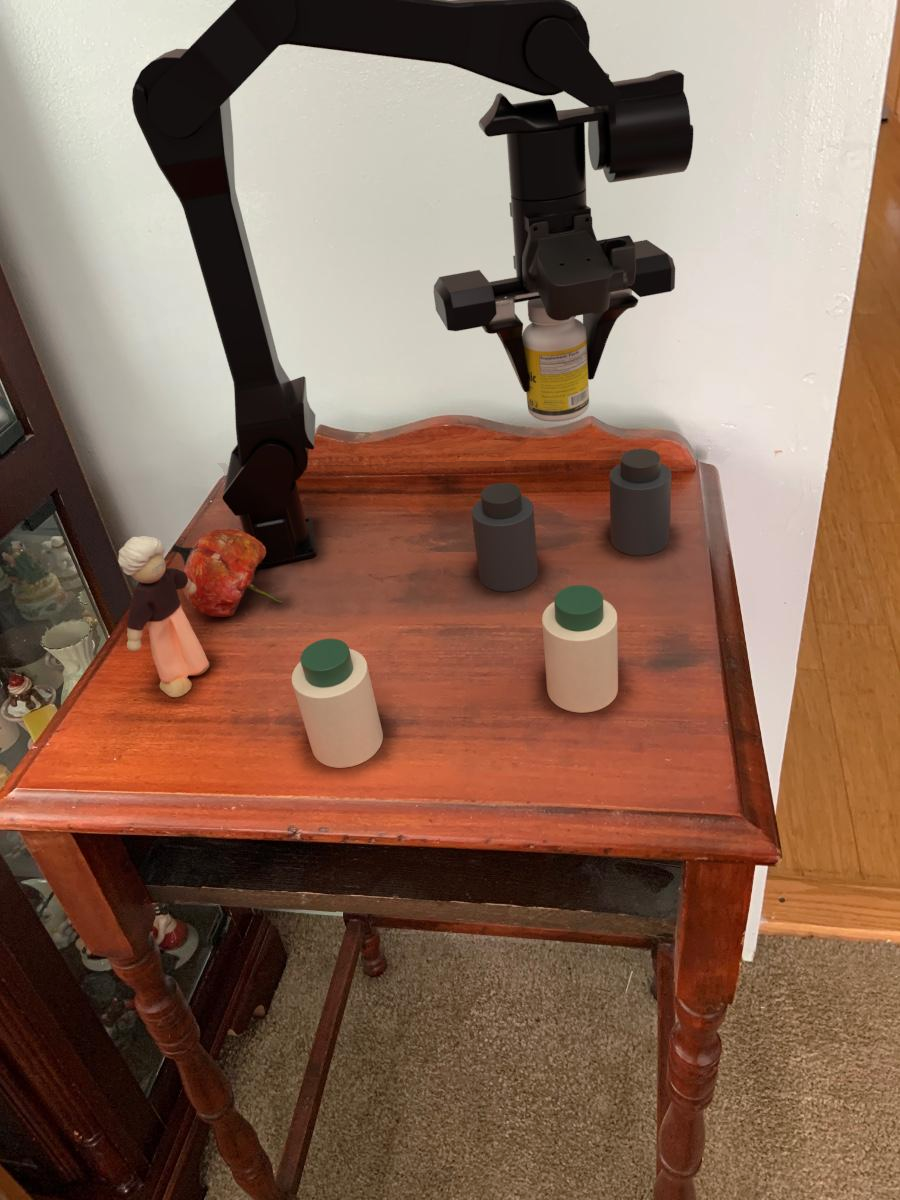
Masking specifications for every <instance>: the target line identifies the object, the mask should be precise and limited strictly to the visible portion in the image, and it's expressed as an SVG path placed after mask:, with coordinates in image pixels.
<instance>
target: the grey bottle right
mask: <svg viewBox="0 0 900 1200" xmlns="http://www.w3.org/2000/svg"><path fill="white" fill-rule="evenodd" d="M661 459H662V458H661V455H660V454H659V453H658V452H657V451H655V450H653V449H649V448H635V449H634V448H633V449H631V450H627V451H626V452H624V453H623V454H621V456H620V460H619V461H620V462H619V464H617V465H616V466H614V467H612V469H611V471H610V472H609V523H610V524H609V525H610V526H609V527H610V528H609V529H610V530H609V531H610V534H609V535H610V544H611V546H612V547H613V548H614V549H615V550H617V551H618V552H620V553H622V554H625V555H629V556H635V557H636V556H637V557H638V556H639V557H641V556H642V557H644V556H650V555H654V554H657V553H660V552H661V551H663V550H664V549H665V548H667V547H668V545H669V543H670V537H671V535H670V531H671V505H672V504H671V503H672V502H671V501H672V500H671V498H672V471H671V469H670V468H669V467H668V466H667V465H666V464H664V463H662V462H661Z"/></svg>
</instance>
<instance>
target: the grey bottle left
mask: <svg viewBox="0 0 900 1200" xmlns="http://www.w3.org/2000/svg"><path fill="white" fill-rule="evenodd" d="M471 520H472V528H473V536H474V545H475V554H476V559H477V560H476V561H477V569H478V578H479V581H480V583H481V584H482V585H483V586H484V587H486V588H487V589H489V590H491V591H495V592H501V593H502V592H503V593H509V592H515V591H521V590H523V589H526V588H527V587H529V586H530V585H532V584H533V583H534V582H536V580H537V579H538V576H539V564H538V563H539V562H538V551H537V549H538V548H537V537H536V535H537V534H536V522H535V509H534V504H533V502H532V501H531V500H530V498H528V497H526V496H524V495H523V494H522V491H521V488H520V487H519V486H518V485H516V484H514V483H509V482H499V483H493V484H490V485H488V486H486V487H485V488H484V489H482V490H481V493H480V500H478V501H477V502H475V504H474V505H473V506H472V508H471Z"/></svg>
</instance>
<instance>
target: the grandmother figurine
mask: <svg viewBox="0 0 900 1200" xmlns="http://www.w3.org/2000/svg"><path fill="white" fill-rule="evenodd" d="M165 547H166V546H164V543H163V542H162V541H161V540H160V539H158V538H156V537H153V536H147V535H141V536H132V537H131V538H130V539H128V540H127V541H126V542H125V543H124V546H122V547H121V548H120V549H119V550H118V558H117V559H118V561H117V562H118V564H119V566H120V567H121V569H122V571H123V573H125V574H126V575H127V576H131V577H132V578H133V580H135V581H137V582H138V583H137V585H136V586H135V587H134V588H133V591H132V596H131V600H130V605H129V611H128V616H127V621H126V628H127V629H126V631H127V632H126V634H127V635H126V637H127V639H128V640H127V642H126V648H127V650H128V651H129V652H132V653H135V652H138V651H140V650H141V649H142V640H141V639H142V638H143V632H144V631H143V630H144V628H145V626H146V627H147V629H148V637H149V644H150V652H151V656H152V660H153V663H154V665H155V668H156V671H157V674H158V678H159V680H160V683H159V689H160V690H161V691H162V692H163V693H164V694H166V695H167V696H169V697H170V698H179V697H183V696H184V695H186V694H187V693H188V692H189V691H190V690H191V689H192V686H193V683H192V681H191V680H190V679H189V678H188V677H190V676H191V677H197V676H200V675H202V674H204V673H206V672H207V670H208V669H209V668H210V661H209V660H208V657H207V656H206V653H205V651H204V649H203V647H202V645H201V642H200V640H199V639H198V637H197V635H196V633H195V631H194V629H193V628H192V625H191V623H190V621H189V619H188V618H187V615H186V614H185V612H184V610H183V606H182V602H181V600H180V597H179V592H178V590H181V591H182V592H183V593H185V594H187V595H192V594H194V593H195V592H196V589H197V588H196V585H195V584H194V583H192V582H191V581H190V579H189V578H188V577H187V575H186V573H185V572H183V571H184V570H181V569H179V568H174V567H168V568H167V565H166V559H165V558H164V553H165V552H166V548H165ZM185 594H184V595H185Z"/></svg>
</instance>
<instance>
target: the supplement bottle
mask: <svg viewBox="0 0 900 1200" xmlns="http://www.w3.org/2000/svg"><path fill="white" fill-rule="evenodd" d="M527 316H528V320H529V321H530V323H529V324H528V325H526V327H525V328H524V329H523V332H522V339H523V344H524V350H525V356H526V362H527V368H528V374H529V392H525V393H526V404H527V410H528V412H529V413H528V414H530V415H531V416H532V417H533V418H535V419H537V420H539V421H543V422H550V423H551V422H553V423H554V422H565V421H566V422H567V421H569V420H573V419H577V418H578V417H580V416H582V415H584V414H585V413H586V412H587V410H588V409H589V406H590V389H589V388H590V385H589V379H588V362H587V338H586V328H585V326H584V325H583V321H581V320H579V319H577V318H576V317H577V316H573V317H571V318H570V319H568V320H562V321H557V320H553V319H551V318H550V317H549V316H548V315H547V314H546V311H545V307H544V304H543V302H542V300H541V298H539V299H533V300H528V301H527Z"/></svg>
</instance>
